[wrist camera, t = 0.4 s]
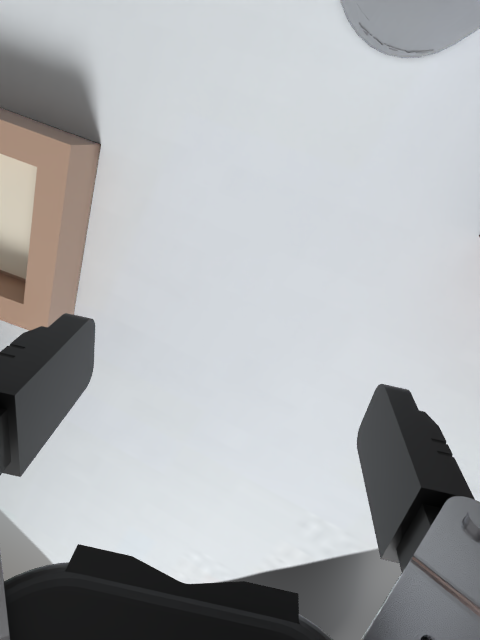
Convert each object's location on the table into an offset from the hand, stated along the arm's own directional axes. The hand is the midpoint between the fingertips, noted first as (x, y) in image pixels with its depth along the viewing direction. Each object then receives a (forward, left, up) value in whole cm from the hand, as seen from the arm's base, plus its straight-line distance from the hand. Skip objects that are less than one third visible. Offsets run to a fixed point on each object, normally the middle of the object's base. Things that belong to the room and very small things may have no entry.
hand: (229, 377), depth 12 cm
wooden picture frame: (+5, -21, -20) cm, 29 cm away
